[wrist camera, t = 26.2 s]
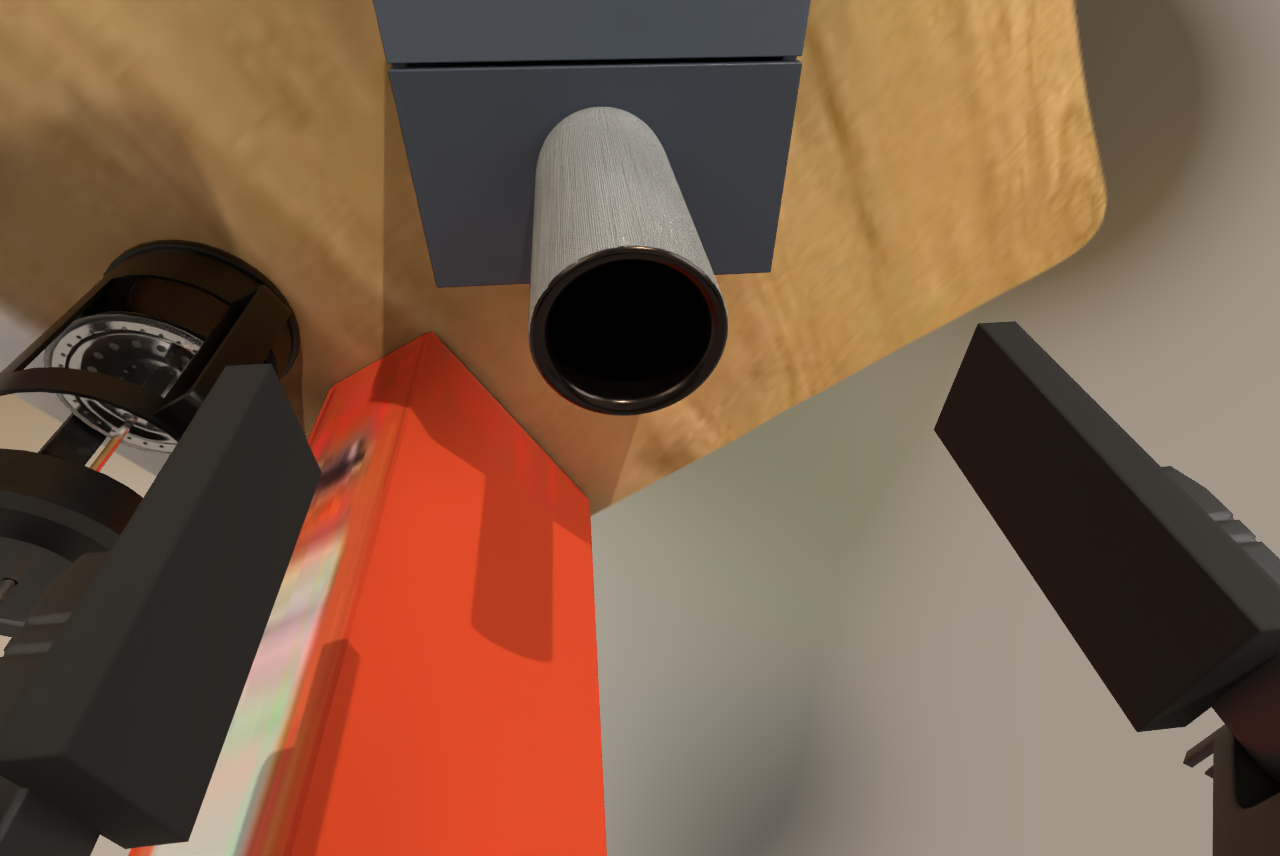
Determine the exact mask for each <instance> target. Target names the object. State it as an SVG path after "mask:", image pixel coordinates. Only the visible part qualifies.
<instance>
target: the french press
mask: <svg viewBox="0 0 1280 856" xmlns="http://www.w3.org/2000/svg"><path fill="white" fill-rule="evenodd" d="M141 278H153V279H160V280H167V281H173V282H177V283H180V284H183V285H187V286H190V287H193V288H196V289H198V290H200V291H203V292H205V293H207V294H210V295H212V296H214V297H215V298H217V299H219V300H220V301H222V302H224V303H225V304H227V305H229V306H230V307H229V308H228V310H227V311H226V312H225V314H224V315H223V316H222V318H221V319H220V321H219V322H218V323H217V325H216V326H215V328H214V329H213V330H212V332H211V333H210V334H209V336H208V337H205V336H204V335H202V334H200V333H198V332H196V331H194V330H192V329H190V328H188V327H186V326H184V325H181V324H178V323H176V322H173V321H170V320H168V319H164V318H160V317H156V316H153V315H149V314H142V313H135V312H132V311H131V299H130V298H131V294H132V290H133V287H134V286H135V284H136V283H137V281H138V280H140V279H141ZM74 320H75V321H74ZM299 344H300V336H299V327H298V323H297V321H296V318H295V315H294V312H293V310H292V309H291V307H290V305H289V304H288V302H287V300H286V299H285V297H284V296H283V295H282V293H281V292H280V291H279V290H278V289H277V288H276V286H275V285H274V284H273V283H272V282H271V281H270V280H268V279H267V278H266V277H265V276H264V275H263V274H261V273H260V272H259V271H258V270H257V269H255V268H254V267H252V266H250V265H249V264H247V263H246V262H244V261H243V260H241V259H239V258H237V257H235V256H233V255H231V254H229V253H226V252H224V251H222V250H220V249H217V248H213V247H210V246H207V245H204V244H201V243H195V242H188V241H182V240H158V241H153V242H148V243H144V244H140V245H137V246H135V247H133V248H131V249H129V250H126V251H125V252H124V253H122V254H121V255H120V256H119V257H118V258H116V259H115V260H114V261H113V262H112V263H111V264H110V266H109V267H108V269H107V271H106V272H105V274H104V276H103V279H102V280H101V281H99V282H98V283H97V284H96V285H95V286H94V287H93V288H92V289H91V290H90V291H89V292H88V293H86V294H85V295H84V296H83V297H82V298H81V299H80V300H79V301H78V302H77V303H76V304H75V305H73V306H72V307H71V308H70V309H69V310H68V311H67V312H66V313H65V314H64V315H63V316H62V317H60V318H59V319H58V320H57V321H56V322H55V323H54V324H53V325H52V326H51V327H50V328H49V329H48V330H46V331H45V332H44V333H43V334H42V335H41V336H40V337H39V338H38V339H37V340H36V341H35V342H33V343H32V344H31V345H30V346H29V347H28V348H27V349H26V350H25V351H24V352H23V353H22V354H20V355H19V356H18V357H17V358H16V359H15V360H14V361H13V362H12V363H11V364H10V365H9V366H7V367H6V368H5V369H4V370H3V371H2V372H1V373H0V396H1V395H7V394H12V393H20V392H49V393H56V394H57V396H58V397H59V399H60V400H61V401H62V402H63V403H64V404H65V405H66V406H67V407H68V409H69V410H70V411H71V412H72V414H71V415H70V416H69V417H68V418H67V420H66V421H65V422H64V423H63V424H62V425H61V427H60V428H59V429H58V430H57V431H56V432H55V433H54V435H53V436H52V437H51V438H50V439H49V440H48V441H47V443H46V444H45V445H44V446H43V447H42V448H41V449H40V451H39V452H38V453H35V452H30V451H24V450H23V451H22V450H12V449H0V635H3V636H8V637H13V635H14V634H15V632H16V631H17V629H18V628H19V627H23V626H24V624H25V622H24V619H25V618H26V616H27V615H28V613H29V612H30V610H31V609H32V607H33V606H34V604H35V603H36V601H37V600H38V599H39V597H40V596H41V594H42V593H43V591H44V590H45V588H46V587H47V585H48V584H49V583H51V582H52V581H53V580H54V579H55V578H56V577H57V576H58V575H60V574H61V573H62V572H63V571H64V570H65V569H66V568H68V567H69V566H70V565H71V564H72V563H73V562H74V561H76V560H77V559H78V558H79V557H80V556H81V555H82V554H84V553H92V552H105V551H111V549H112V548H113V546H114V544H115V543H116V541H117V540H118V538H119V536H120V535H121V533H122V532H123V530H124V528H125V527H126V525H127V524H128V522H129V520H130V519H131V517H132V516H133V514H134V512H135V511H136V509H137V507H138V506H139V504H140V503H141V501H142V499H143V497H141V496H140V495H138V494H137V493H136V492H134V491H133V490H132V489H130V488H129V487H127V486H125V485H124V484H122V483H120V482H118V481H116V480H114V479H112V478H111V477H109V476H107V475H105V474H103V473H100V472H99V471H100V470H101V468H102V467H103V466H104V464H105V463H106V462H107V460H108V459H109V458H110V456H111V455H112V454H113V452H114V451H115V450H116V448H117V447H118V446H119V444H120V443H123V444H125V445H128V446H131V447H134V448H137V449H140V450H144V451H148V452H153V453H158V454H163V455H171V453H172V451H173V450H174V448H175V447H176V445H177V443H178V442H179V440H180V439H181V437H182V435H183V434H184V432H185V431H186V429H187V427H188V426H189V424H190V423H191V421H192V419H193V418H194V416H195V415H196V413H197V411H198V410H199V408H200V407H201V405H202V403H203V402H204V400H205V399H206V397H207V395H208V394H209V392H210V391H211V389H212V387H213V386H214V384H215V383H216V381H217V379H218V378H219V376H220V375H221V373H222V371H223V370H224V368H225V367H226V366H235V365H252V364H270V363H271V364H272V366H273V368H274V370H275V372H276V374H277V377H278V379H279V381H280V379H281V378H282V377H283V376H284V375H285V374H286V373H287V372H288V371H289V369H290V368H291V367H292V365H293V363H294V361H295V359H296V357H297V354H298V351H299ZM45 348H46V350H45V355H44V365H45V368H31V369H26V370H23V369H24V368H25V367H26V366H27V365H28V364H30V363H31V362H32V361H33V360H34V359H35V358H36V357H37V356H38V355H39V354H40V353H41V352H42V351H43V350H44V349H45ZM269 352H270V354H269V356H268V358H267V359H266V360H265V358H266V356H267V354H268V353H269ZM264 360H265V361H264ZM263 361H264V362H263ZM106 437H109V438H112V439H111V440H110V441H109V443H108V444H107V445H106V447H105V448H104V449H103V451H102V452H101V453H100V455H99V456H98V457H97V459H96V460H95V461H94V462H93V464H92V465H91V466H90V468H88V467H86V466H85V464H86V463H87V461H88V460H89V459H90V458H91V456H92V455H93V454H94V453H95V451H96V450H97V449H98V448H99V446H100V445H101V444H102V442H103V441H104V440H105V438H106Z"/></svg>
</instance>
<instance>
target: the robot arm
mask: <svg viewBox="0 0 1280 856" xmlns="http://www.w3.org/2000/svg"><path fill="white" fill-rule="evenodd" d="M934 430H935V432H936V434H937V435H938V436H939V438H940V439H941V441H942V442H943V444H944V445H945V447H946V448H947V450H948V451H949V453H950V454H951V456H952V457H953V459H954V460H955V462H956V463H957V465H958V466H959V468H960V469H961V471H962V472H963V474H964V475H965V476H966V478H967V480H968V481H969V483H970V484H971V485H972V487H973V489H974V490H975V492H976V493H977V495H978V496H979V498H980V499H981V501H982V502H983V504H984V505H985V506H986V508H987V509H988V511H989V512H990V514H991V515H992V517H993V518H994V520H995V521H996V523H997V524H998V526H999V527H1000V529H1001V530H1002V532H1003V533H1004V535H1005V536H1006V538H1007V539H1008V541H1009V542H1010V544H1011V545H1012V547H1013V548H1014V550H1015V551H1016V553H1017V554H1018V556H1019V557H1020V559H1021V560H1022V562H1023V563H1024V564H1025V566H1026V567H1027V569H1028V570H1029V572H1030V573H1031V575H1032V576H1033V578H1034V579H1035V581H1036V582H1037V584H1038V585H1039V587H1040V588H1041V590H1042V591H1043V593H1044V594H1045V596H1046V597H1047V599H1048V600H1049V602H1050V603H1051V605H1052V606H1053V608H1054V609H1055V610H1056V612H1057V614H1058V615H1059V617H1060V618H1061V620H1062V621H1063V623H1064V624H1065V625H1066V627H1067V628H1068V630H1069V632H1070V633H1071V634H1072V636H1073V637H1074V639H1075V640H1076V642H1077V643H1078V645H1079V646H1080V648H1081V649H1082V651H1083V652H1084V654H1085V655H1086V657H1087V658H1088V660H1089V661H1090V663H1091V664H1092V666H1093V667H1094V669H1095V670H1096V672H1097V673H1098V675H1099V676H1100V678H1101V679H1102V680H1103V682H1104V684H1105V685H1106V687H1107V688H1108V690H1109V691H1110V692H1111V694H1112V696H1113V697H1114V698H1115V700H1116V701H1117V703H1118V704H1119V706H1120V707H1121V709H1122V710H1123V712H1124V713H1125V715H1126V716H1127V718H1128V719H1129V721H1130V722H1131V724H1132V725H1133V727H1134V728H1135V730H1136V731H1137V732H1141V731H1151V730H1159V729H1168V728H1176V727H1185V726H1187V725H1188V724H1190V723H1191V722H1192V721H1193V720H1195V719H1196V718H1197V717H1199V716H1200V715H1201V714H1202V713H1204V712H1205V711H1206V710H1208V709H1209V708H1210V707H1212V708H1213V709H1214V710H1215V712H1216V713H1217V714H1218V716H1219V717H1220V718H1221V719H1222V721H1223V722H1224V723H1225V725H1223V726H1222V727H1221V728H1219V729H1218V730H1217V731H1215V732H1214V733H1212V734H1211V735H1210V736H1208V737H1207V738H1205V739H1204V740H1203V741H1201V742H1200V743H1198V744H1197V745H1196V746H1194V747H1193V748H1191V749H1190V750H1189V751H1187V753H1186V756H1185V759H1184V762H1183V763H1184V764H1186V765H1188V766H1190V767H1194V766H1195V765H1196V764H1198V763H1199V762H1201V761H1202V760H1204V759H1205V758H1207V757H1208V756H1210V755H1211V754H1213V753H1214V765H1213V766H1211V767H1210V768H1209V769H1208V770H1207V771H1206V772H1205V774H1206V775H1208V776H1210V777H1211V778H1213V856H1280V559H1279V558H1278V557H1277V556H1276V555H1275V554H1274V553H1273V552H1272V551H1271V550H1270V549H1269V548H1268V547H1266V546H1265V545H1264V544H1263V543H1262V542H1257V541H1256V540H1255V537H1256V536H1255V535H1254V534H1253V533H1252V532H1251V531H1250V530H1249V529H1248V528H1247V527H1246V526H1245V525H1243V524H1242V522H1241V521H1239V520H1234V519H1233V514H1232V513H1231V512H1230V511H1229V510H1228V509H1227V508H1226V507H1225V506H1224V505H1223V504H1222V503H1221V502H1220V501H1219V500H1218V499H1217V498H1215V496H1213V495H1212V494H1211V493H1210V492H1209V491H1208V490H1207V489H1206V488H1205V487H1203V486H1201V485H1200V484H1198V483H1197V482H1195V481H1194V480H1192V479H1190V478H1189V477H1187V476H1185V475H1184V474H1182V473H1181V472H1179V471H1177V470H1176V469H1174V468H1173V467H1171V466H1168V467H1160V466H1159V465H1158V464H1157V463H1156V462H1155V461H1154V460H1153V459H1152V458H1151V457H1150V456H1149V455H1148V454H1147V453H1146V452H1145V451H1144V450H1143V449H1142V448H1141V447H1140V446H1139V445H1138V444H1137V443H1136V442H1135V441H1134V440H1133V439H1132V438H1131V437H1130V436H1129V435H1128V434H1127V433H1126V432H1125V431H1124V430H1123V429H1122V428H1121V427H1120V426H1119V425H1118V424H1117V423H1116V422H1115V421H1114V420H1113V419H1112V418H1111V417H1110V416H1109V415H1108V414H1107V413H1106V412H1105V411H1104V410H1103V409H1102V408H1101V407H1100V406H1099V405H1098V404H1097V403H1096V402H1095V401H1094V400H1093V399H1092V398H1091V397H1090V396H1089V395H1088V394H1087V393H1086V392H1085V391H1084V390H1083V389H1082V388H1081V387H1080V386H1079V385H1078V384H1077V383H1076V382H1075V381H1074V380H1073V379H1072V378H1071V377H1070V376H1069V375H1068V374H1067V373H1066V372H1065V371H1064V370H1063V369H1062V368H1061V367H1060V366H1059V365H1058V364H1057V363H1056V362H1055V361H1054V360H1053V359H1052V358H1051V357H1050V356H1049V355H1048V354H1047V353H1046V352H1045V351H1044V350H1043V349H1042V348H1041V347H1040V346H1039V345H1038V344H1037V343H1036V342H1035V341H1034V340H1033V339H1032V338H1031V337H1030V336H1029V335H1028V334H1027V333H1026V332H1025V331H1024V330H1023V329H1022V328H1021V327H1020V326H1019V325H1018V324H1017V323H1016V322H997V323H979V324H978V325H977V327H976V330H975V332H974V335H973V337H972V339H971V342H970V344H969V346H968V349H967V351H966V354H965V356H964V358H963V361H962V363H961V366H960V368H959V370H958V373H957V375H956V378H955V380H954V382H953V385H952V387H951V390H950V392H949V394H948V397H947V399H946V402H945V404H944V406H943V409H942V411H941V414H940V416H939V419H938V421H937V423H936V426H935V428H934ZM321 474H322V472H321V470H320V468H319V465H318V463H317V461H316V459H315V457H314V455H313V452H312V450H311V448H310V446H309V444H308V442H307V439H306V437H305V435H304V433H303V431H302V429H301V426H300V424H299V422H298V420H297V418H296V416H295V413H294V411H293V409H292V407H291V405H290V403H289V400H288V398H287V396H286V394H285V392H284V390H283V387H282V385H281V383H280V381H279V379H278V377H277V374H276V372H275V370H274V368H273V366H272V364H271V363H270V364H252V365H235V366H226V367H225V368H224V370H223V371H222V373H221V375H220V376H219V378H218V379H217V381H216V383H215V384H214V386H213V387H212V389H211V391H210V392H209V394H208V395H207V397H206V399H205V400H204V402H203V403H202V405H201V407H200V408H199V410H198V411H197V413H196V415H195V416H194V418H193V419H192V421H191V423H190V424H189V426H188V427H187V429H186V431H185V432H184V434H183V435H182V437H181V439H180V440H179V442H178V443H177V445H176V447H175V448H174V450H173V451H172V453H171V455H170V456H169V458H168V459H167V461H166V463H165V464H164V466H163V467H162V469H161V471H160V472H159V474H158V475H157V477H156V479H155V480H154V482H153V483H152V485H151V487H150V488H149V490H148V492H147V493H146V495H145V497H144V498H143V499H142V501H141V503H140V504H139V506H138V507H137V509H136V511H135V512H134V514H133V516H132V517H131V519H130V520H129V522H128V524H127V525H126V527H125V528H124V530H123V532H122V533H121V535H120V536H119V538H118V540H117V541H116V543H115V544H114V546H113V548H112V549H111V551H105V552H92V553H84V554H82V555H81V556H80V557H79V558H78V559H77V560H76V561H74V562H73V563H72V564H71V565H70V566H69V567H68V568H66V569H65V570H64V571H63V572H62V573H61V574H60V575H58V576H57V577H56V578H55V579H54V580H53V581H52V582H51V583H49V584H48V585H47V587H46V588H45V590H44V591H43V593H42V594H41V596H40V597H39V599H38V600H37V601H36V603H35V604H34V606H33V607H32V609H31V610H30V612H29V613H28V615H27V616H26V618H25V619H24V622H25V624H24V626H23V627H19V628H18V629H17V631H16V632H15V634H14V635H13V637H12V638H11V640H10V641H9V643H8V644H7V646H6V647H5V649H4V651H5V654H4V656H3V657H0V856H90V855H91V852H92V850H93V848H94V846H95V844H96V842H97V839H98V837H99V835H100V834H101V835H102V836H104V837H106V838H107V839H109V840H111V841H113V842H114V843H116V844H118V845H119V846H121V847H123V848H124V849H128V848H137V847H146V846H155V845H163V844H172V843H181V842H188V841H189V838H190V836H191V833H192V830H193V827H194V825H195V822H196V819H197V816H198V813H199V811H200V808H201V805H202V802H203V800H204V797H205V794H206V791H207V789H208V786H209V783H210V780H211V778H212V775H213V772H214V769H215V767H216V764H217V761H218V758H219V756H220V753H221V750H222V747H223V744H224V742H225V739H226V736H227V733H228V731H229V728H230V725H231V722H232V720H233V717H234V714H235V711H236V709H237V706H238V703H239V700H240V698H241V695H242V692H243V689H244V686H245V684H246V681H247V678H248V675H249V673H250V670H251V667H252V664H253V662H254V659H255V656H256V653H257V651H258V648H259V645H260V642H261V640H262V637H263V634H264V631H265V628H266V626H267V623H268V620H269V617H270V615H271V612H272V609H273V606H274V604H275V601H276V598H277V595H278V593H279V590H280V587H281V584H282V582H283V579H284V576H285V573H286V570H287V568H288V565H289V562H290V559H291V557H292V554H293V551H294V548H295V546H296V543H297V540H298V537H299V535H300V532H301V529H302V526H303V524H304V521H305V518H306V515H307V512H308V510H309V507H310V504H311V501H312V499H313V496H314V493H315V490H316V488H317V485H318V482H319V479H320V477H321Z"/></svg>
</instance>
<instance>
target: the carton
mask: <svg viewBox="0 0 1280 856" xmlns="http://www.w3.org/2000/svg"><path fill="white" fill-rule="evenodd" d="M796 57H797V56H781V57H726V58H670V59H615V60H560V61H505V62H450V63H395V64H391V66H392V68H390V69H389V70H388V74H389V78H390V83H391V87H392V91H393V96H394V100H395V105H396V109H397V114H398V118H399V122H400V127H401V131H402V136H403V140H404V145H405V149H406V153H407V158H408V162H409V167H410V171H411V176H412V180H413V184H414V189H415V193H416V198H417V202H418V206H419V211H420V215H421V220H422V224H423V229H424V233H425V237H426V242H427V246H428V251H429V255H430V260H431V264H432V268H433V273H434V277H435V282H436V286H437V288H441V287H463V286H484V285H506V284H528V283H530V282H531V261H532V240H533V219H534V199H535V178H536V167H537V162H538V157H539V154H540V150H541V148H542V146H543V143H544V141H545V140H546V138H547V136H548V135H549V133H550V132H551V131H552V130H553V128H554V127H555V126H556V125H557V124H558V123H560V122H561V121H562V120H563V119H565V118H566V117H568V116H569V115H571V114H573V113H575V112H577V111H580V110H583V109H586V108H591V107H613V108H617V109H621V110H624V111H627V112H629V113H631V114H633V115H635V116H636V117H638V118H639V119H641V120H642V121H643V122H644V123H646V124H647V125H648V126H649V127H650V129H651V130H652V131H653V132H654V134H655V135H656V136H657V138H658V140H659V141H660V143H661V145H662V147H663V149H664V151H665V153H666V156H667V158H668V161H669V163H670V166H671V168H672V171H673V173H674V176H675V178H676V181H677V183H678V186H679V188H680V191H681V193H682V196H683V198H684V201H685V203H686V206H687V208H688V211H689V213H690V216H691V218H692V221H693V223H694V226H695V228H696V231H697V233H698V236H699V238H700V241H701V243H702V246H703V248H704V251H705V253H706V256H707V258H708V261H709V263H710V266H711V268H712V271H713V273H714V275H722V274H744V273H765V272H770V271H771V265H772V259H773V252H774V246H775V239H776V232H777V226H778V219H779V213H780V206H781V199H782V193H783V186H784V180H785V173H786V166H787V160H788V153H789V147H790V140H791V133H792V127H793V120H794V113H795V107H796V100H797V94H798V87H799V80H800V74H801V67H802V62H800V61H799V60H796Z"/></svg>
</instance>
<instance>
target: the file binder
mask: <svg viewBox="0 0 1280 856" xmlns="http://www.w3.org/2000/svg"><path fill="white" fill-rule="evenodd" d="M307 442H308V444H309V446H310V448H311V450H312V452H313V455H314V457H315V459H316V461H317V463H318V465H319V468H320V470H321V472H322V474H321V477H320V479H319V482H318V485H317V488H316V490H315V493H314V496H313V499H312V501H311V504H310V507H309V510H308V512H307V515H306V518H305V521H304V524H303V526H302V529H301V532H300V535H299V537H298V540H297V543H296V546H295V548H294V551H293V554H292V557H291V559H290V562H289V565H288V568H287V570H286V573H285V576H284V579H283V582H282V584H281V587H280V590H279V593H278V595H277V598H276V601H275V604H274V606H273V609H272V612H271V615H270V617H269V620H268V623H267V626H266V628H265V631H264V634H263V637H262V640H261V642H260V645H259V648H258V651H257V653H256V656H255V659H254V662H253V664H252V667H251V670H250V673H249V675H248V678H247V681H246V684H245V686H244V689H243V692H242V695H241V698H240V700H239V703H238V706H237V709H236V711H235V714H234V717H233V720H232V722H231V725H230V728H229V731H228V733H227V736H226V739H225V742H224V744H223V747H222V750H221V753H220V756H219V758H218V761H217V764H216V767H215V769H214V772H213V775H212V778H211V780H210V783H209V786H208V789H207V791H206V794H205V797H204V800H203V802H202V805H201V808H200V811H199V813H198V816H197V819H196V822H195V825H194V827H193V830H192V833H191V836H190V838H189V841H188V842H181V843H172V844H163V845H155V846H146V847H137V848H131V851H130V853H129V856H607V853H606V851H607V850H606V829H605V811H604V810H605V809H604V790H603V789H604V788H603V769H602V747H601V726H600V706H599V686H598V666H597V644H596V625H595V604H594V582H593V562H592V541H591V521H590V500H589V499H588V498H587V497H586V496H585V495H584V494H583V493H582V492H581V490H580V489H579V488H578V487H577V486H576V485H575V484H574V483H573V482H572V481H571V480H570V479H569V478H568V477H567V475H566V474H565V473H564V472H563V471H562V470H561V469H560V468H559V467H558V466H557V465H556V464H555V463H554V462H553V460H552V459H551V458H550V457H549V456H548V455H547V454H546V453H545V452H544V451H543V450H542V449H541V448H540V447H539V446H538V444H537V443H536V442H535V441H534V440H533V439H532V438H531V437H530V436H529V435H528V434H527V433H526V432H525V431H524V429H523V428H522V427H521V426H520V425H519V424H518V423H517V422H516V421H515V420H514V419H513V418H512V417H511V416H510V414H509V413H508V412H507V411H506V410H505V409H504V408H503V407H502V406H501V405H500V404H499V403H498V402H497V401H496V400H495V398H494V397H493V396H492V395H491V394H490V393H489V392H488V391H487V390H486V389H485V388H484V387H483V386H482V385H481V383H480V382H479V381H478V380H477V379H476V378H475V377H474V376H473V375H472V374H471V373H470V372H469V371H468V370H467V368H466V367H465V366H464V365H463V364H462V363H461V362H460V361H459V360H458V359H457V358H456V357H455V356H454V355H453V353H452V352H451V351H450V350H449V349H448V348H447V347H446V346H445V345H444V344H443V343H442V342H441V341H440V340H439V339H438V337H437V336H436V335H435V334H434V333H433V332H432V331H431V332H430V333H428V334H426V333H425V334H423V335H421V336H420V337H418V338H416V339H414V340H413V341H411V342H409V343H407V344H406V345H404V346H402V347H400V348H399V349H397V350H395V351H393V352H391V353H390V354H388V355H386V356H384V357H383V358H381V359H379V360H377V361H376V362H374V363H372V364H370V365H369V366H367V367H365V368H363V369H362V370H360V371H358V372H356V373H355V374H353V375H351V376H349V377H348V378H346V379H344V380H342V381H341V382H339V383H337V384H335V385H334V386H333V387H332V389H330V390H329V392H328V395H327V397H326V399H325V401H324V404H323V406H322V408H321V411H320V413H319V415H318V418H317V420H316V422H315V425H314V427H313V429H312V432H311V434H310V436H309V439H308V441H307Z"/></svg>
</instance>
